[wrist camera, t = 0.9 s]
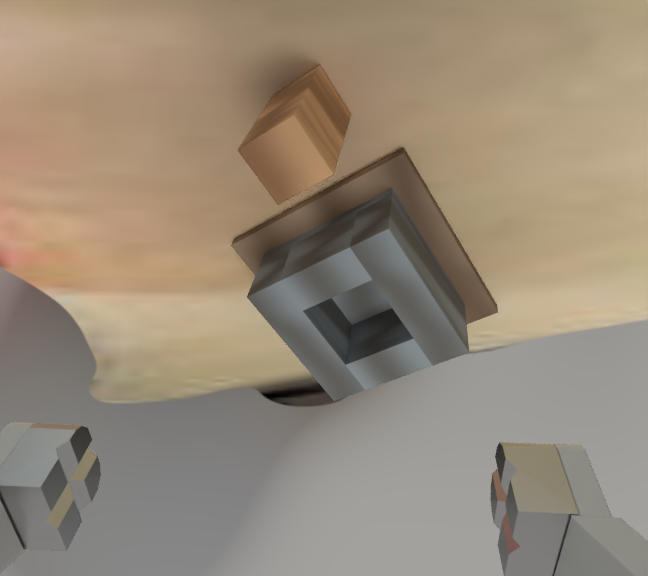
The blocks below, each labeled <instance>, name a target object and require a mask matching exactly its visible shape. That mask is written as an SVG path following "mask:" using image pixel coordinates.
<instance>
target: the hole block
mask: <svg viewBox="0 0 648 576" xmlns="http://www.w3.org/2000/svg"><path fill="white" fill-rule="evenodd" d="M231 246H232V247H233V248H234V250H235V251H236V252H237V253H238V254H239V256H240V257H241V258H242V259H243V261H244V262H245V263H246V264H247V266H248V267H249V268H250V269H251V270H252V272H253V273H254V274H255V275H256V276H255V279H254V281H253V283H252V286H251V288H250V291H249V293H248V296H247V298H248V299H249V300H250V301H251V302H252V304H253V305H254V306H255V307H256V308H257V310H258V311H259V312H260V313H261V314H262V316H263V317H264V318H265V319H266V320H267V322H268V323H269V324H270V325H271V326H272V327H273V329H274V330H275V331H276V332H277V333H278V335H279V336H280V337H281V338H282V339H283V341H284V342H285V343H286V344H287V345H288V347H289V348H290V349H291V350H292V351H293V353H294V354H295V355H296V356H297V357H298V358H299V360H300V361H301V362H302V363H303V364H304V366H305V367H306V368H307V369H308V370H309V372H310V373H311V374H312V375H313V376H314V378H315V379H316V380H317V381H318V382H319V384H320V385H321V386H322V387H323V388H324V390H325V391H326V392H327V393H328V394H329V395H330V397H331V398H332V399H333V400H334V401H335V400H338V399H341V398H344V397H347V396H349V395H352V394H355V393H358V392H360V391H363V390H366V389H369V388H372V387H374V386H377V385H380V384H383V383H386V382H388V381H391V380H393V379H397V378H399V377H402V376H405V375H408V374H411V373H413V372H416V371H419V370H422V369H424V368H427V367H430V366H433V365H436V364H438V363H441V362H444V361H447V360H450V359H452V358H455V357H458V356H461V355H463V354H466V353H469V346H468V335H467V324H469V323H471V322H474V321H476V320H479V319H482V318H484V317H487V316H490V315H492V314H495V313H497V312H498V309H497V304H496V303H495V301H494V299H493V298H492V296H491V294H490V293H489V291H488V289H487V288H486V286H485V284H484V282H483V281H482V279H481V277H480V276H479V274H478V272H477V271H476V269H475V267H474V266H473V264H472V262H471V261H470V259H469V257H468V255H467V254H466V252H465V250H464V249H463V247H462V245H461V244H460V242H459V240H458V239H457V237H456V235H455V233H454V232H453V230H452V228H451V227H450V225H449V223H448V222H447V220H446V218H445V217H444V215H443V213H442V211H441V210H440V208H439V206H438V205H437V203H436V201H435V200H434V198H433V196H432V195H431V193H430V191H429V190H428V188H427V186H426V184H425V183H424V181H423V179H422V178H421V176H420V174H419V173H418V171H417V169H416V168H415V166H414V164H413V162H412V161H411V159H410V157H409V156H408V154H407V152H406V151H405V149H404V148H402V149H400V150H398V151H397V152H395V153H393V154H391V155H389V156H387V157H385V158H384V159H382V160H380V161H378V162H376V163H374V164H373V165H371V166H369V167H367V168H365V169H363V170H361V171H360V172H358V173H356V174H354V175H352V176H350V177H348V178H347V179H345V180H343V181H341V182H339V183H337V184H336V185H334V186H332V187H330V188H328V189H326V190H324V191H323V192H321V193H319V194H317V195H315V196H313V197H312V198H310V199H308V200H306V201H304V202H302V203H300V204H299V205H297V206H295V207H293V208H291V209H289V210H288V211H286V212H284V213H282V214H280V215H278V216H276V217H275V218H273V219H271V220H269V221H267V222H265V223H263V224H262V225H260V226H258V227H256V228H254V229H252V230H251V231H249V232H247V233H245V234H243V235H241V236H239V237H238V238H236V239H234V241H233V243H232V245H231Z"/></svg>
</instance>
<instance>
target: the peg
mask: <svg viewBox="0 0 648 576" xmlns="http://www.w3.org/2000/svg"><path fill="white" fill-rule="evenodd" d="M350 117H351V113H350V112H349V110H348V108H347V107H346V105H345V104H344V102H343V100H342V99H341V97H340V95H339V94H338V92H337V91H336V89H335V87H334V86H333V84H332V83H331V81H330V79H329V78H328V76H327V74H326V73H325V71H324V70H323V68H322V66H321V65H319V66H317V67H316V68H314V69H313V70H311V71H309V72H308V73H306V74H305V75H303V76H302V77H300V78H299V79H297V80H296V81H294V82H293V83H291V84H289V85H288V86H286V87H285V88H283V89H282V90H280V91H279V92H277V93H276V94H274V95H273V97H272V98H271V100H270V101H269V103H268V104H267V106H266V107H265V109H264V110H263V112H262V113H261V115H260V116H259V118H258V119H257V121H256V123H255V124H254V126H253V127H252V129H251V130H250V132H249V133H248V135H247V136H246V138H245V139H244V141H243V142H242V144H241V145H240V147H239V149H238V151H239V153H240V154H241V156H242V157H243V158H244V160H245V161H246V162H247V164H248V165H249V166H250V168H251V169H252V170H253V172H254V173H255V174H256V176H257V177H258V179H259V180H260V181H261V183H262V184H263V185H264V187H265V188H266V189H267V191H268V192H269V193H270V195H271V196H272V197H273V199H274V200H275V202H276V203H277V204H278V205H279V204H281V203H282V202H284V201H286V200H288V199H290V198H291V197H293V196H295V195H297V194H299V193H300V192H302V191H304V190H306V189H308V188H310V187H311V186H313V185H315V184H317V183H319V182H320V181H322V180H324V179H326V178H328V177H330V176H331V175H333V174H334V171H335V168H336V164H337V161H338V158H339V154H340V151H341V147H342V144H343V141H344V137H345V134H346V130H347V127H348V124H349V120H350Z"/></svg>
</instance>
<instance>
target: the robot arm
mask: <svg viewBox="0 0 648 576" xmlns="http://www.w3.org/2000/svg"><path fill="white" fill-rule="evenodd" d="M91 441H92V437H91V435H90V432H89V430H88V428H87V427H84V426H74V425H59V424H44V423H22V422H12V423H11V424H9V425H7V426H5V428H4V429H3V430H2V432H1V433H0V573H2V572H3V571H4V570H5V569H6V568H7V567H8V566H9V565H11V564H12V563H13V562H14V561H15V560H16V559H18V558H19V557H20V556H21V555H22V554H23V553H24V552H25V551H24V550H51V551H67V549H68V548H69V545H70V544H71V542H72V540H73V538H74V536H75V534H76V532H77V530H78V528H79V526H80V524H81V522H82V520H81V517H80V513H79V511H81V510H82V509H83V508H85V507H86V506H87V505H89V504H90V503H91V502H92V500H93V498H94V496H95V494H96V492H97V490H98V485H99V481H100V476H101V473H100V462H99V459H98V456H97V455H96V454H95V453H94V452H93V451H92V450H90V449H89V448H88V446H89V445H90V443H91ZM495 458H496V463H497V468H498V469H497V470H496V471H495V472H493V474H492V481H491V509H492V515H493V520H494V524H495V525H496V526H497V527H498V528H499V529H500V535H499V541H498V548H499V553H500V558H501V563H502V568H503V573H504V576H648V541H647V540H646V539H645V538H643V537H642V536H641V535H640V534H639V533H638V532H637V531H635V530H634V529H633V528H632V527H631V526H629V525H628V524H627V523H626V522H625V521H624V520H622V519H621V518H613V517H612V516H611V513H610V510H609V508H608V505H607V503H606V500H605V498H604V495H603V493H602V490H601V488H600V485H599V483H598V480H597V478H596V476H595V473H594V470H593V468H592V465H591V463H590V460H589V458H588V455H587V453H586V450H585V449H584V447H582V445H567V444H553V445H552V444H536V443H503V442H500V443H499V444H498V446H497V450H496V455H495Z"/></svg>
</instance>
